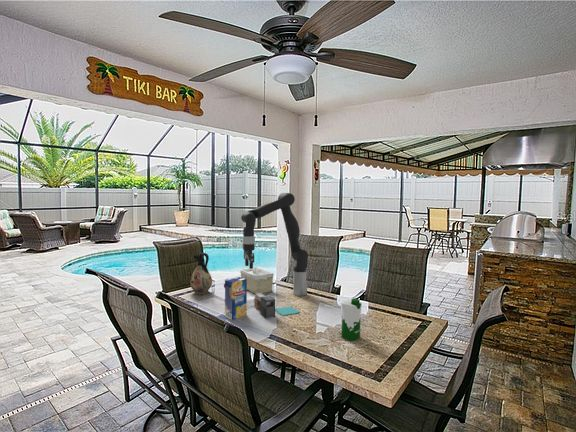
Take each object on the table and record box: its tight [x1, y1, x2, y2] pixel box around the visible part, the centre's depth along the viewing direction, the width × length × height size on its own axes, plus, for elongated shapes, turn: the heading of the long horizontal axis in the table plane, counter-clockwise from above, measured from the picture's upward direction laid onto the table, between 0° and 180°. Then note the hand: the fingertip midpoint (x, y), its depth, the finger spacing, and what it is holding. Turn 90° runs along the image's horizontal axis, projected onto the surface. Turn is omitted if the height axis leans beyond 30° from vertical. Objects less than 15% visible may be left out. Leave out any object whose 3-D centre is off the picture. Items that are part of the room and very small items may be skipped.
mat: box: [275, 305, 301, 317], centre depth 204 cm, size 12×12×1 cm
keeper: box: [260, 295, 276, 319], centre depth 196 cm, size 7×7×11 cm
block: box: [253, 297, 261, 310], centre depth 209 cm, size 4×4×6 cm
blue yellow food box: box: [224, 276, 248, 321], centre depth 194 cm, size 7×11×22 cm, turn 138°
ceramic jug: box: [189, 252, 213, 295], centre depth 238 cm, size 17×15×30 cm
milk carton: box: [340, 298, 363, 342], centre depth 167 cm, size 9×9×20 cm
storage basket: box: [240, 266, 274, 294], centre depth 249 cm, size 24×16×15 cm
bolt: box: [254, 293, 271, 305], centre depth 202 cm, size 4×16×2 cm, turn 27°
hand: (249, 267), depth 216 cm, fingers open, 8 cm apart
